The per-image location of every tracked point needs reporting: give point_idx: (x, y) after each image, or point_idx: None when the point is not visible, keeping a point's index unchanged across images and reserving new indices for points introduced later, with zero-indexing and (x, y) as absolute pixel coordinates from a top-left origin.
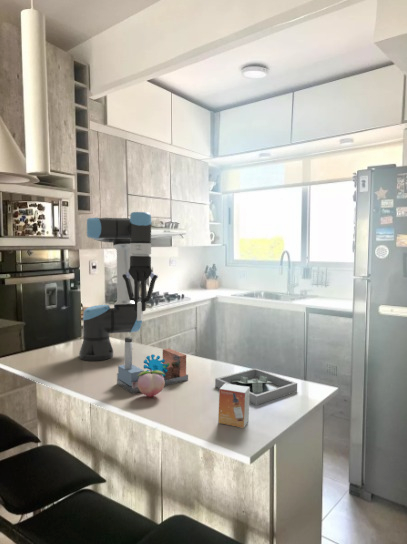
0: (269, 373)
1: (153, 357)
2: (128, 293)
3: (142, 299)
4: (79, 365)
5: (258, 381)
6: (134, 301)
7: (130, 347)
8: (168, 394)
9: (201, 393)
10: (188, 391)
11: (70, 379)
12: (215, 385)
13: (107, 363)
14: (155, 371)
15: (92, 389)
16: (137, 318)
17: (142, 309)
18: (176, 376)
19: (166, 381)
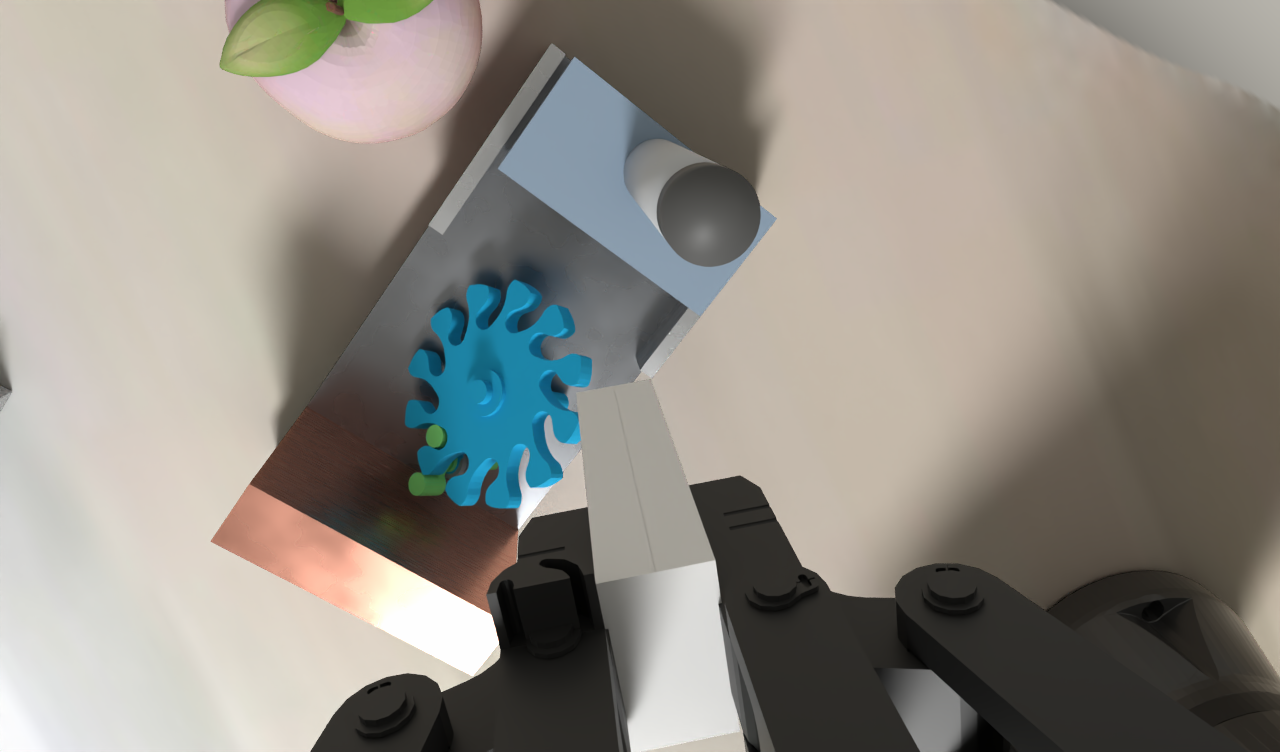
0: None
1: (530, 454)
2: (1159, 704)
3: (567, 668)
4: (1163, 472)
5: None
6: (810, 570)
7: (654, 177)
8: (279, 122)
9: (43, 222)
10: (161, 231)
11: (1120, 189)
12: (3, 393)
13: (987, 572)
14: (288, 14)
15: (883, 43)
16: (649, 394)
17: (574, 530)
18: (335, 408)
19: (376, 304)
